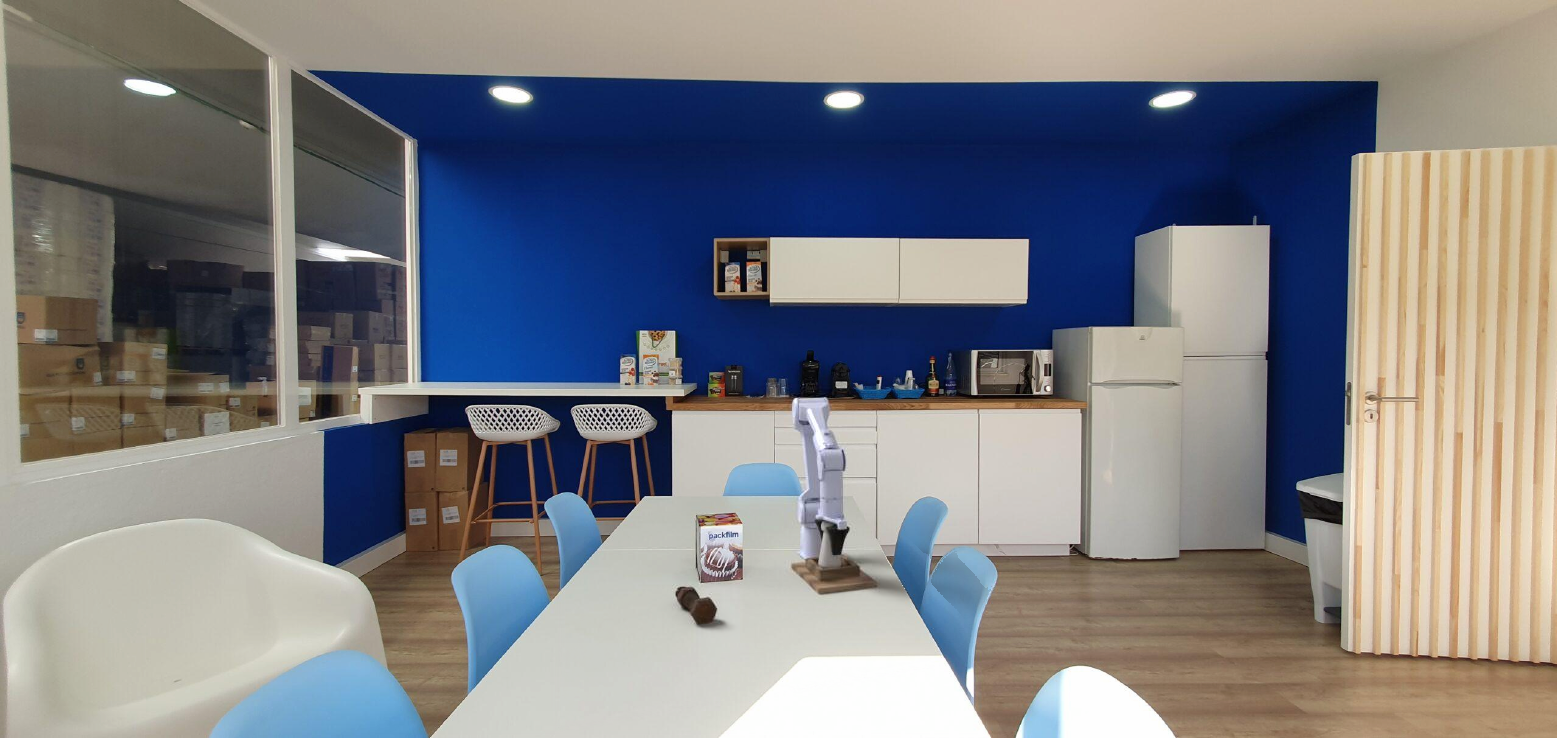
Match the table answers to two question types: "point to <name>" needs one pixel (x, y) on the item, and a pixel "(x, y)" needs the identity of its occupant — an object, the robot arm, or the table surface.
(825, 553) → the salt shaker
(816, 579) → the socket board
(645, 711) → the table surface
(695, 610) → the bolt
